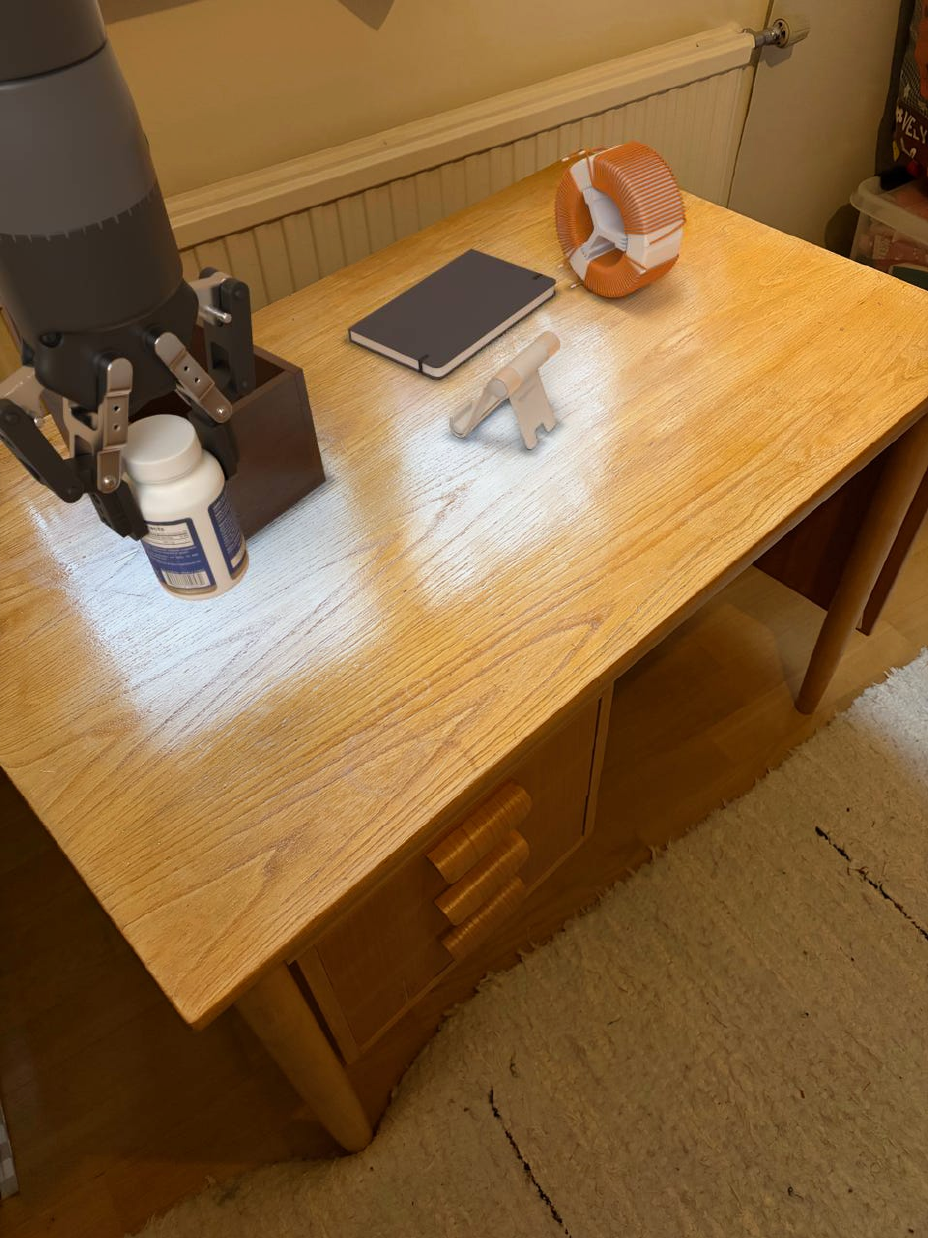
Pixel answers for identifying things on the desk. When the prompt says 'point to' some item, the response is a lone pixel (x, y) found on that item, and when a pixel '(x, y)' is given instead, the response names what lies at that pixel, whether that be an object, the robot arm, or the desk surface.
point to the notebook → (453, 313)
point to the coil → (619, 218)
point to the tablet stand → (514, 393)
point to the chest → (252, 436)
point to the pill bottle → (183, 509)
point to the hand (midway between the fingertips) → (178, 500)
